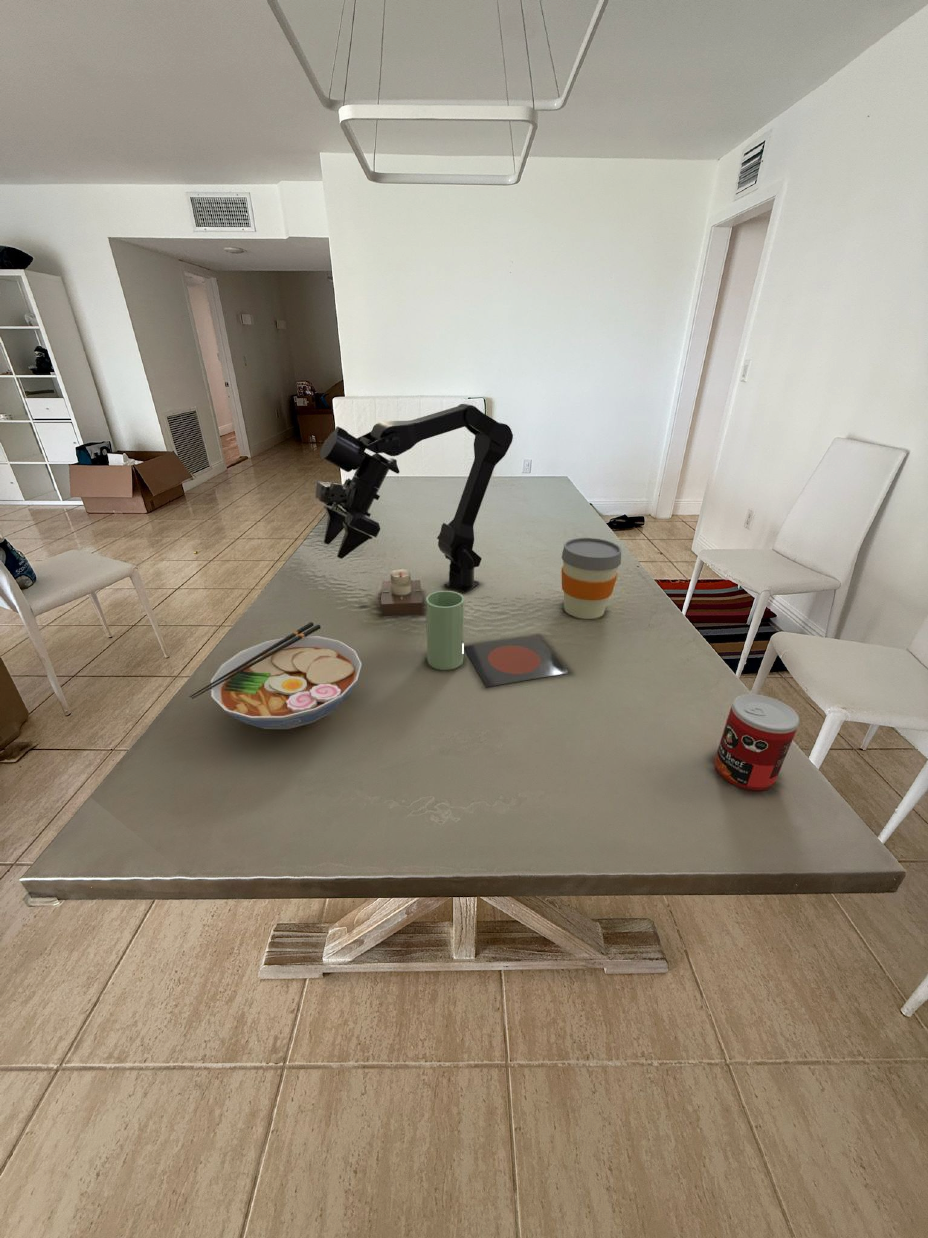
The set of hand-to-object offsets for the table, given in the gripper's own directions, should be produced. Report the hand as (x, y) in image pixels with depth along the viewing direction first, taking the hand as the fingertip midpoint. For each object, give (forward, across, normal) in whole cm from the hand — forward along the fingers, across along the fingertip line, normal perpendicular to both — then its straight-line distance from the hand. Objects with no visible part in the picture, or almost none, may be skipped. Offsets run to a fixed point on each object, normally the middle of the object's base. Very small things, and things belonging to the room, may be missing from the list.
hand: (332, 550), depth 108 cm
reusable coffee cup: (-14, +24, +50) cm, 57 cm away
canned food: (-7, +74, +38) cm, 84 cm away
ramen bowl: (+22, +29, -6) cm, 37 cm away
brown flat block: (+5, +2, +20) cm, 21 cm away
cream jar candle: (+2, +2, +18) cm, 18 cm away
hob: (0, +34, +28) cm, 44 cm away
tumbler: (+6, +28, +18) cm, 34 cm away
